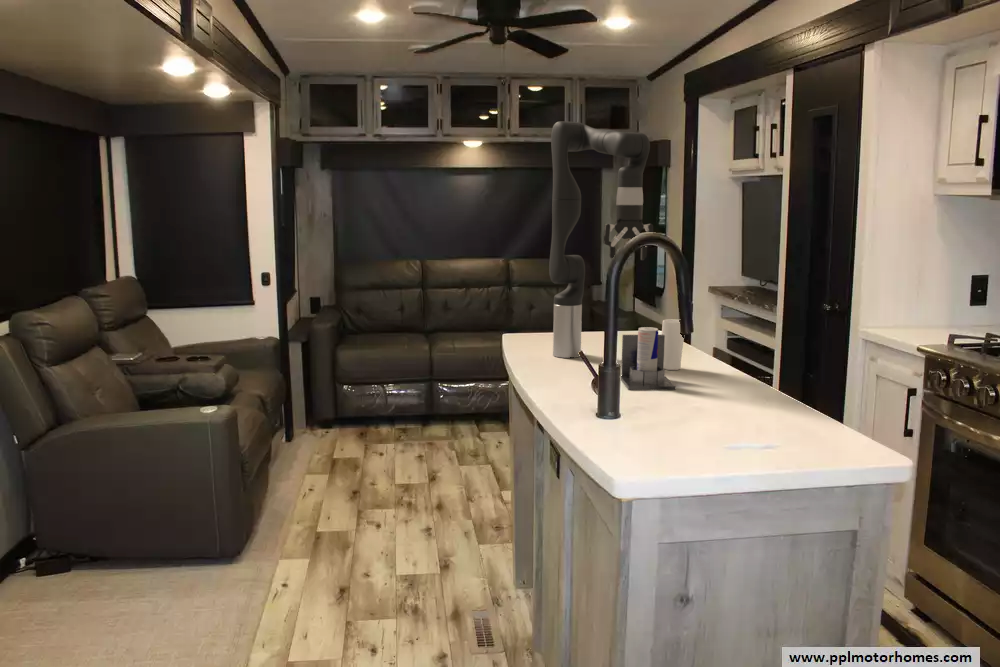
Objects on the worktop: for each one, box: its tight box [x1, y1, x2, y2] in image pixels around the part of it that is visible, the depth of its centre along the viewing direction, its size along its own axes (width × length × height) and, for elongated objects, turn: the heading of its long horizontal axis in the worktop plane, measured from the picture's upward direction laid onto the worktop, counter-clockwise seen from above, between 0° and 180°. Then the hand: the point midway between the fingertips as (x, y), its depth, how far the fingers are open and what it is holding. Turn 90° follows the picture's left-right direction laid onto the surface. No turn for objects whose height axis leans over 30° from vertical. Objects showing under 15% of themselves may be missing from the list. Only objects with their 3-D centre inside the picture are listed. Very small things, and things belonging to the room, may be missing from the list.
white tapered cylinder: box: [661, 318, 685, 371], centre depth 251 cm, size 7×7×15 cm
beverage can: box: [637, 326, 659, 371], centre depth 231 cm, size 6×6×15 cm
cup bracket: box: [620, 334, 677, 391], centre depth 231 cm, size 14×13×13 cm
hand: (627, 259), depth 239 cm, fingers open, 8 cm apart
